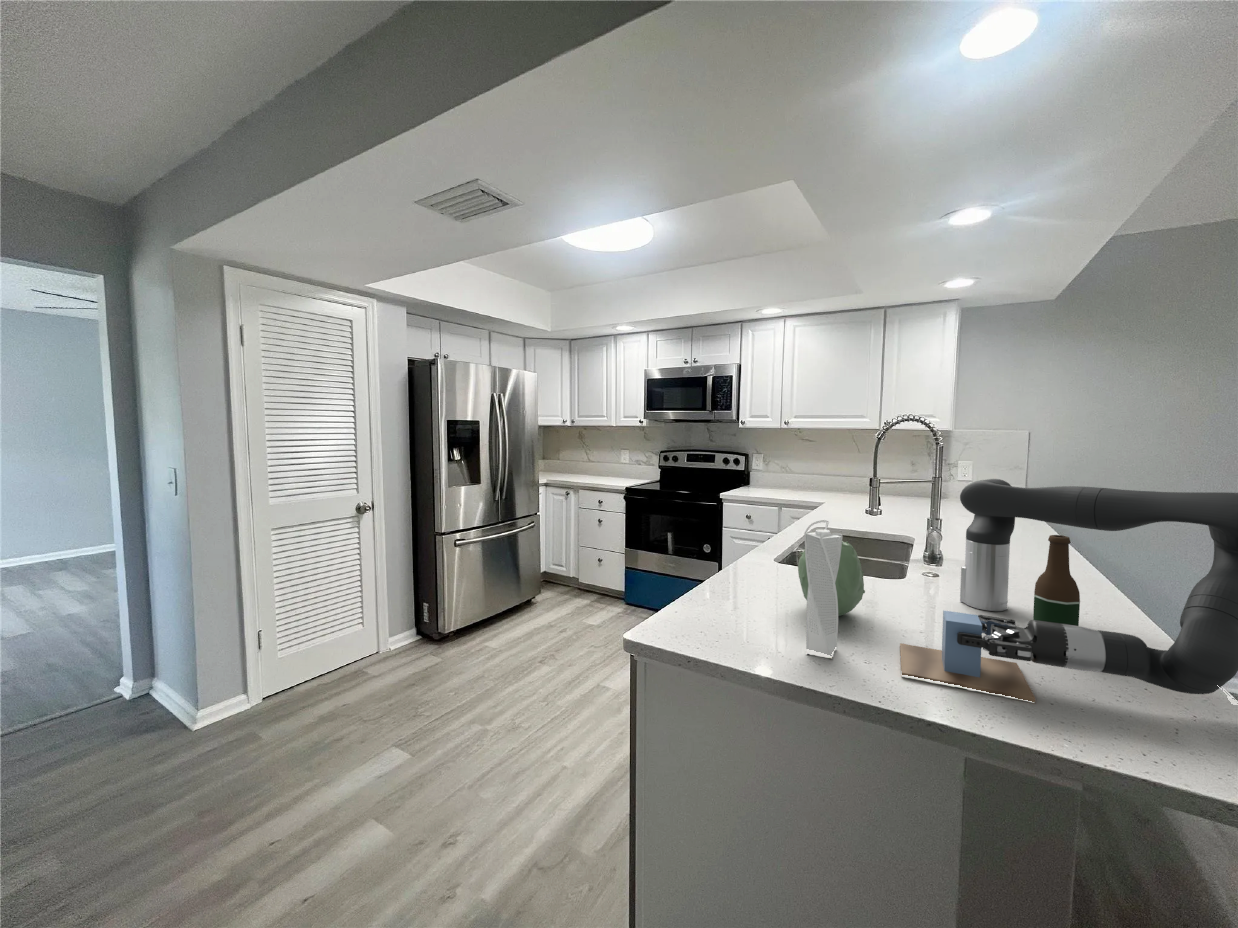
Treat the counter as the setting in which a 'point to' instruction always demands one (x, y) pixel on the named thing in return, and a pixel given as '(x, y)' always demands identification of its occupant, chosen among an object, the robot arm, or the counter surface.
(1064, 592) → the beer bottle
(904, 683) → the counter surface
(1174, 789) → the counter surface
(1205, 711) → the counter surface
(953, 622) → the pale blue tall block
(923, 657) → the post stand
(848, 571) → the cabbage
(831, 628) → the skyscraper
